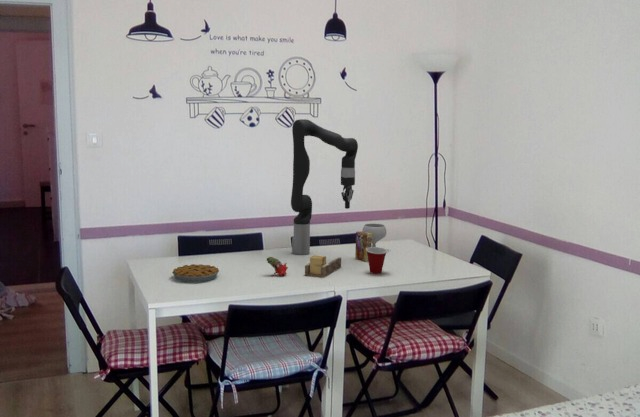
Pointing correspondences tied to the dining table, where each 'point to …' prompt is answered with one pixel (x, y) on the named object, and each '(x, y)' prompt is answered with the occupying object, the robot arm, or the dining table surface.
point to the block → (317, 264)
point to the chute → (324, 268)
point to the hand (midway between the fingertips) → (347, 208)
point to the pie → (195, 273)
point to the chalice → (375, 232)
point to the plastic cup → (376, 259)
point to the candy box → (362, 245)
